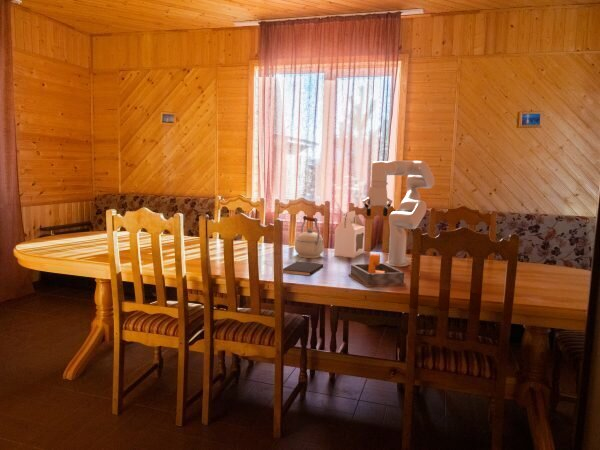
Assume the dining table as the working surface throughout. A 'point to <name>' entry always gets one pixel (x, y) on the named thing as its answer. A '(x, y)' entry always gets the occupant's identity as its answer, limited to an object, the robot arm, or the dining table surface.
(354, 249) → the gable box
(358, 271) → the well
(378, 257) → the bracket
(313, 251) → the kettle
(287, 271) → the hardcover book
